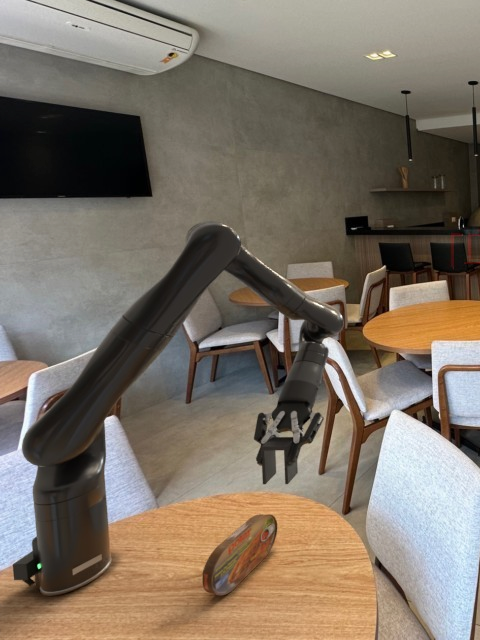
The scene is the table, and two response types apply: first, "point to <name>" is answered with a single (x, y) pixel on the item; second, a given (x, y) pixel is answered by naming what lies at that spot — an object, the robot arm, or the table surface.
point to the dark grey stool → (270, 458)
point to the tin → (239, 554)
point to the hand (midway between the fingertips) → (275, 464)
